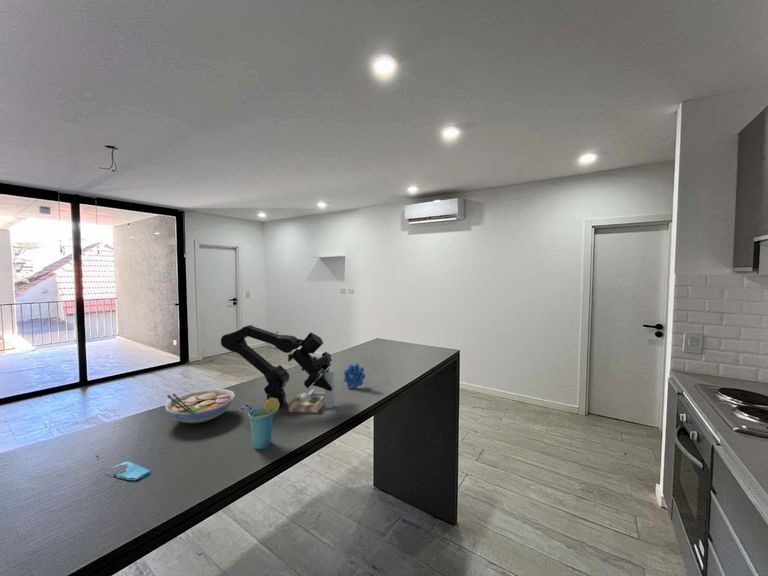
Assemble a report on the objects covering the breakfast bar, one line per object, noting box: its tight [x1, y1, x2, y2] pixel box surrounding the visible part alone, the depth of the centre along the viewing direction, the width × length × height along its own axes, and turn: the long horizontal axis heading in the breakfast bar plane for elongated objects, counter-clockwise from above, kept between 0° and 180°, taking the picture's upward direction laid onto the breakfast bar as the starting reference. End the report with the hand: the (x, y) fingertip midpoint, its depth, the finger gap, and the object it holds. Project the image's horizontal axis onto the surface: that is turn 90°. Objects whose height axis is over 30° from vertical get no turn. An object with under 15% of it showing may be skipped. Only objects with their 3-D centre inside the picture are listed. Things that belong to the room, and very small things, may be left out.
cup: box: [236, 398, 280, 450], centre depth 101 cm, size 14×8×15 cm, turn 146°
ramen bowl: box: [164, 388, 236, 424], centre depth 121 cm, size 25×23×8 cm
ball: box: [299, 395, 307, 401], centre depth 132 cm, size 4×4×4 cm
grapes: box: [342, 363, 366, 390], centre depth 152 cm, size 12×7×12 cm, turn 66°
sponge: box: [112, 460, 151, 480], centre depth 88 cm, size 2×12×6 cm
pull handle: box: [307, 371, 335, 409], centre depth 131 cm, size 10×6×14 cm, turn 84°
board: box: [287, 392, 325, 414], centre depth 132 cm, size 12×12×3 cm
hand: (332, 388), depth 130 cm, fingers closed on pull handle, 3 cm apart
